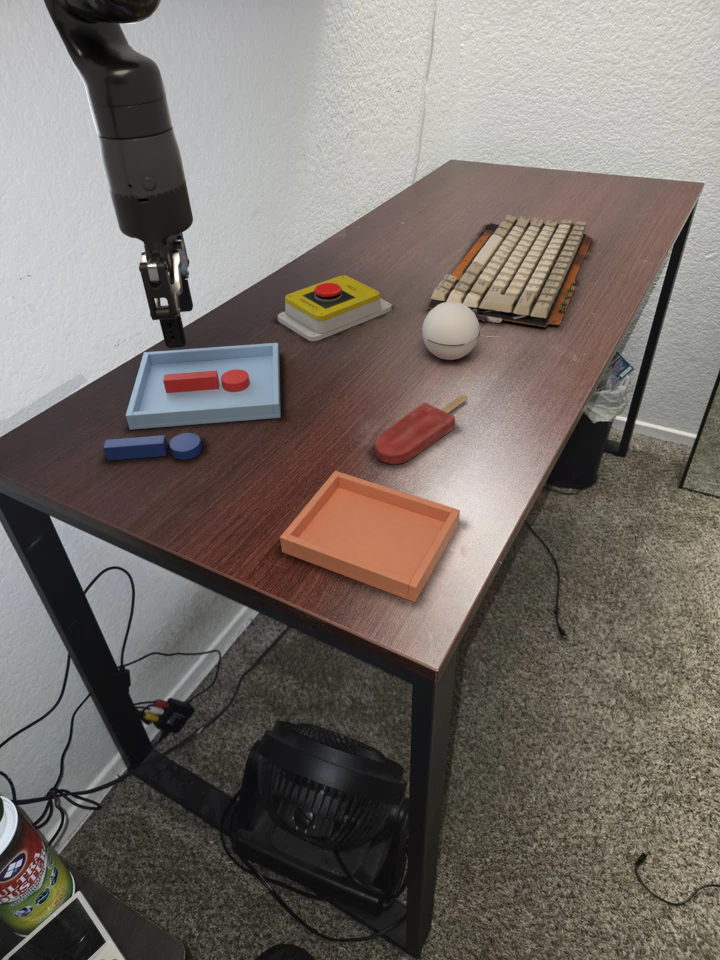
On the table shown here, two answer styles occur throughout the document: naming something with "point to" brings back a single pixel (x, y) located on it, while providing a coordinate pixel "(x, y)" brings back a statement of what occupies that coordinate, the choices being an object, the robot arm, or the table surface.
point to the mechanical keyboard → (518, 271)
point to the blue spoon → (153, 447)
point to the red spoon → (206, 381)
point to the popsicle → (416, 432)
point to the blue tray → (206, 405)
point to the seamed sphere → (451, 330)
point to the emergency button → (331, 307)
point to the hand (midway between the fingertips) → (180, 327)
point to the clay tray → (372, 534)
